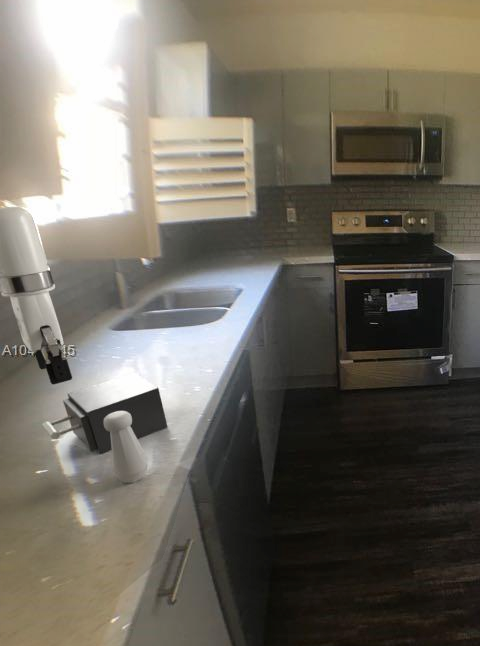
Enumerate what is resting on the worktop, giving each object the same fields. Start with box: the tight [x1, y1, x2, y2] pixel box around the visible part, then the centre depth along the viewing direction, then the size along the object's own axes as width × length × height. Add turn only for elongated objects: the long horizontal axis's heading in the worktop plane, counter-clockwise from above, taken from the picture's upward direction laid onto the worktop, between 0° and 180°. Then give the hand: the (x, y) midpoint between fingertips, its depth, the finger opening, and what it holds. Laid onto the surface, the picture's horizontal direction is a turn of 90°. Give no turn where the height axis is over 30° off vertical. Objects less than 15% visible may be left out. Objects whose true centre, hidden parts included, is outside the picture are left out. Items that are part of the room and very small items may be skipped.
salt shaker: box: [104, 411, 149, 484], centre depth 82 cm, size 6×6×13 cm
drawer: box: [41, 397, 98, 453], centre depth 95 cm, size 17×11×8 cm, turn 138°
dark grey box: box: [66, 372, 168, 455], centre depth 98 cm, size 14×13×10 cm
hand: (55, 374), depth 85 cm, fingers open, 9 cm apart
